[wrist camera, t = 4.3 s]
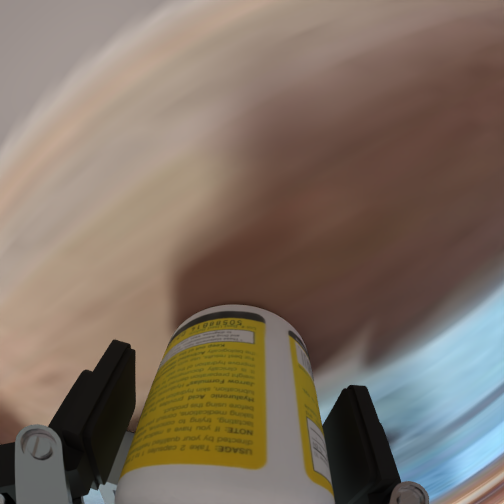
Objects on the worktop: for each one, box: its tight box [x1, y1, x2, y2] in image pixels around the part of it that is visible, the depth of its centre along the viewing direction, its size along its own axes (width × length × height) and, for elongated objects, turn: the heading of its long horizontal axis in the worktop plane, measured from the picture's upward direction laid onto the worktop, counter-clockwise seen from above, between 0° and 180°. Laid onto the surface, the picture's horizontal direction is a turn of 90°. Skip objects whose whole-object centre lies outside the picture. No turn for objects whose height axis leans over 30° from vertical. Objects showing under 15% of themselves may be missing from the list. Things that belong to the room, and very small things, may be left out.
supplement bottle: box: [114, 305, 335, 504], centre depth 7 cm, size 5×5×10 cm
